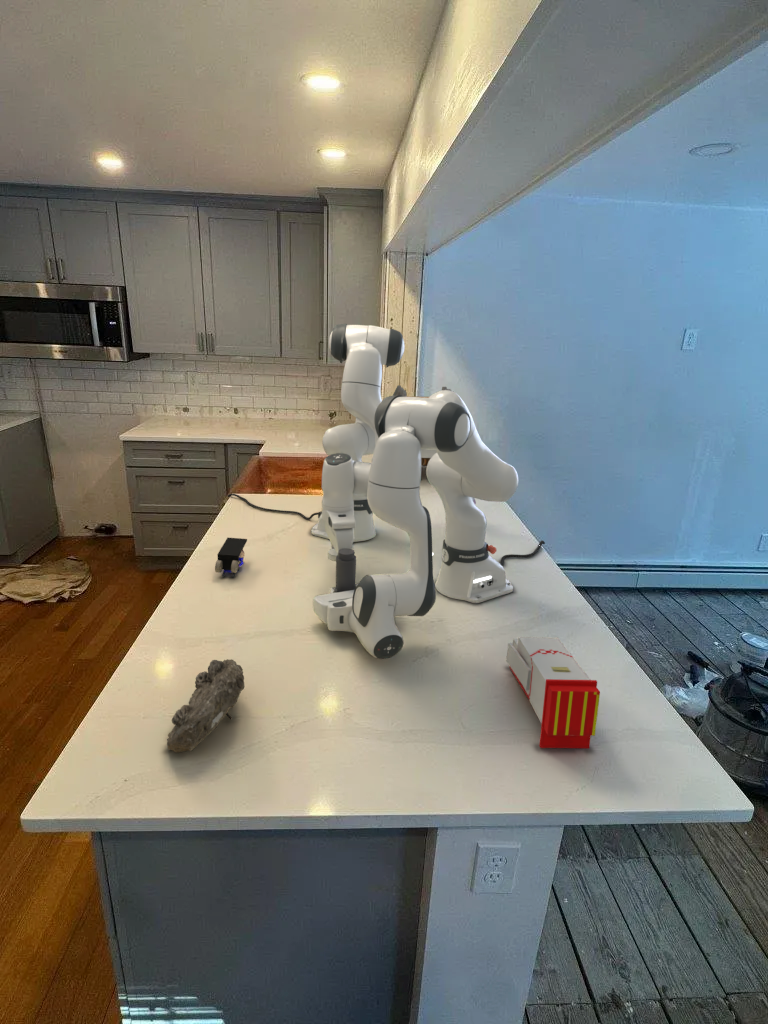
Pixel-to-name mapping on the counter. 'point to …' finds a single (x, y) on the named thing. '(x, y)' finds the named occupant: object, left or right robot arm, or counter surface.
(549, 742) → the toy
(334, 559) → the lid
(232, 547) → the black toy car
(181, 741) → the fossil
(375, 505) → the right robot arm
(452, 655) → the counter surface
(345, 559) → the dark gray cylinder
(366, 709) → the counter surface
